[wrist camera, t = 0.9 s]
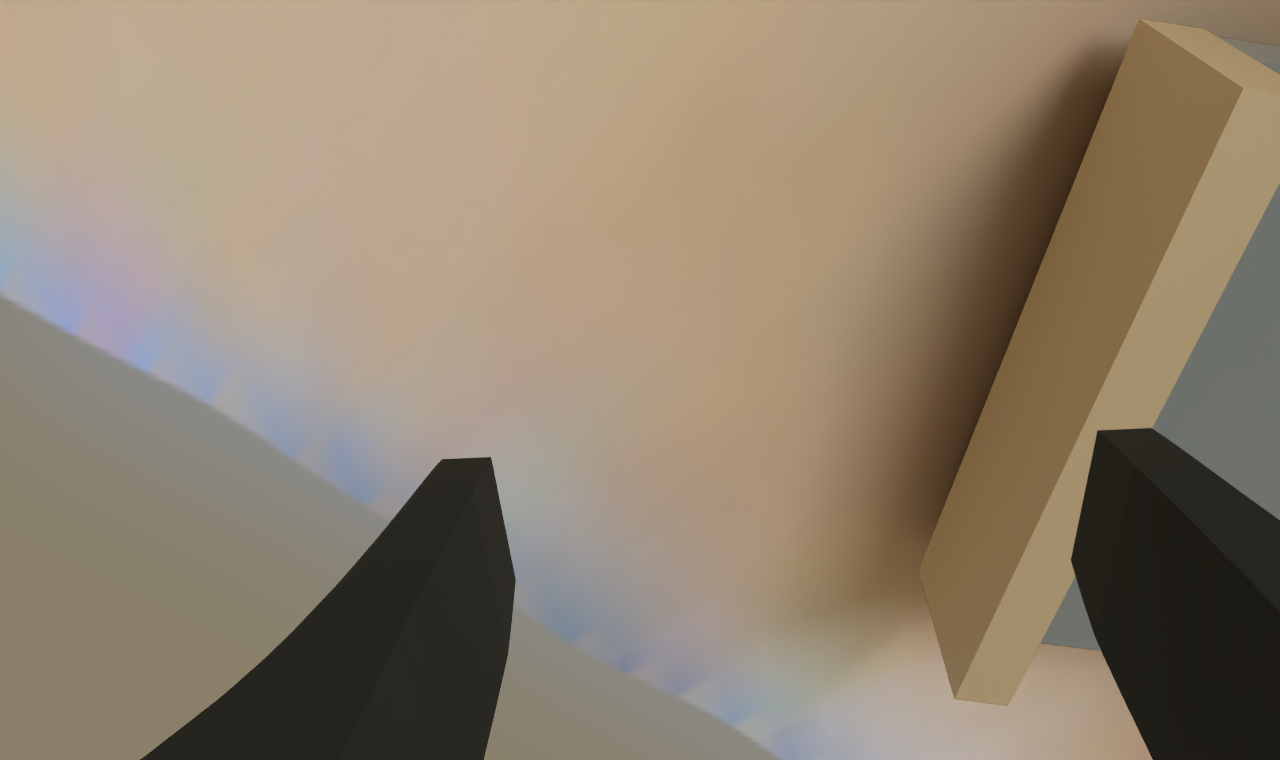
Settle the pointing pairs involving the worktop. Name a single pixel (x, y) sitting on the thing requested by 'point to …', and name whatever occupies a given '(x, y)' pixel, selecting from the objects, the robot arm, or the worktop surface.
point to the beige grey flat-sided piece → (1123, 345)
